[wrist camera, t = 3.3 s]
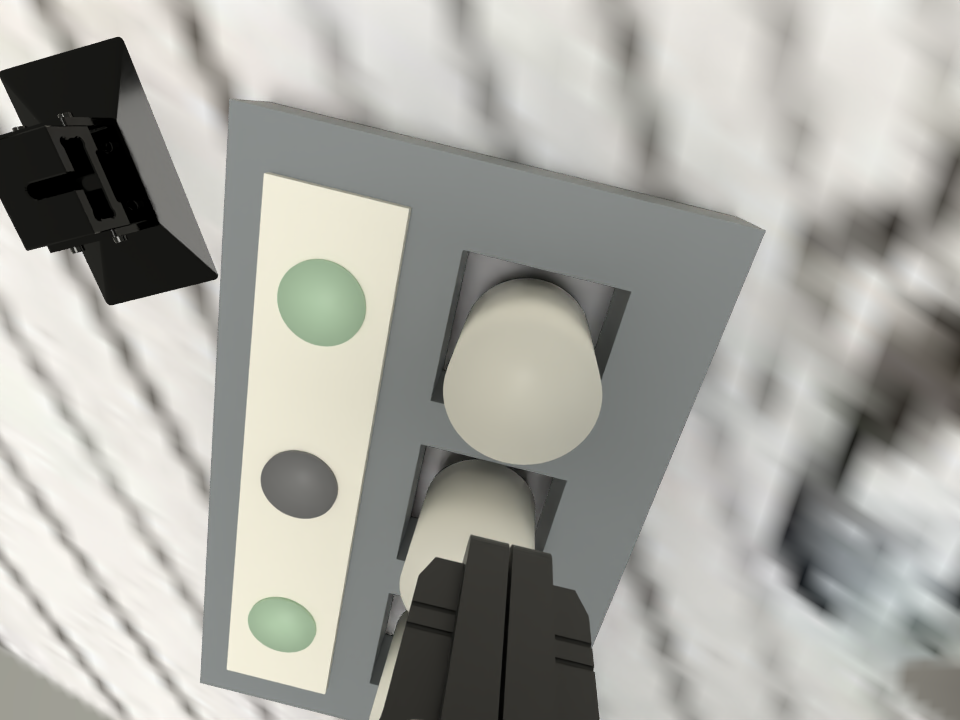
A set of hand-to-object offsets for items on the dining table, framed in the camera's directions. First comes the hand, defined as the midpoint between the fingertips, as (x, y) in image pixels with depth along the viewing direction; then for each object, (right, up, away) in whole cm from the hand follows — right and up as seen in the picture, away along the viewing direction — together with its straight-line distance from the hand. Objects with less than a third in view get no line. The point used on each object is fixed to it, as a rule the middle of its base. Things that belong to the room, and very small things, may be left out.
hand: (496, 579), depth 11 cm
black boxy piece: (-15, +12, +14) cm, 23 cm away
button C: (+1, +5, +12) cm, 13 cm away
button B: (0, -2, +15) cm, 15 cm away
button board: (-3, -1, +17) cm, 17 cm away
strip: (-8, -1, +14) cm, 16 cm away
